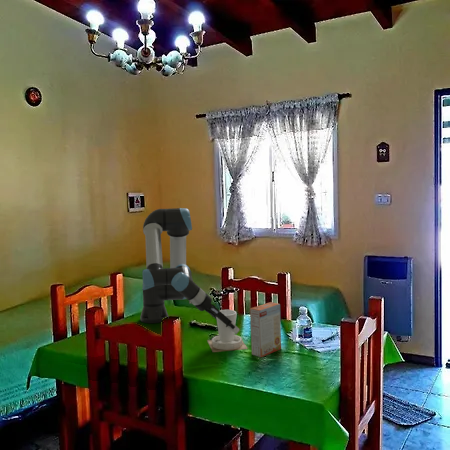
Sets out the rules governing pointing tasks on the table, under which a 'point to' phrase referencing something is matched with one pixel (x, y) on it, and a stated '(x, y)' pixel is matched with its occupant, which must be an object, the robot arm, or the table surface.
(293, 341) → the table surface
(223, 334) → the foam cup
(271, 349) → the cracker box
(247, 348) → the cork mat
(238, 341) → the bowl
